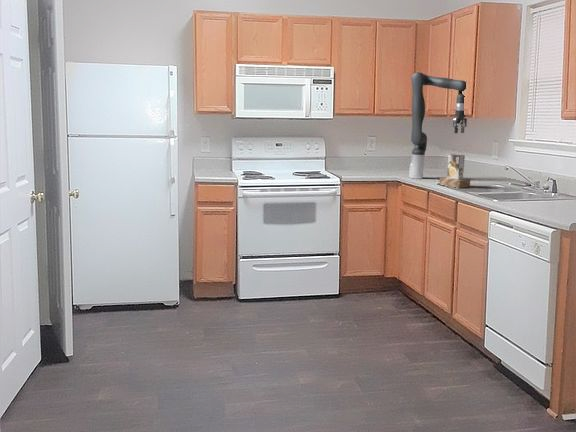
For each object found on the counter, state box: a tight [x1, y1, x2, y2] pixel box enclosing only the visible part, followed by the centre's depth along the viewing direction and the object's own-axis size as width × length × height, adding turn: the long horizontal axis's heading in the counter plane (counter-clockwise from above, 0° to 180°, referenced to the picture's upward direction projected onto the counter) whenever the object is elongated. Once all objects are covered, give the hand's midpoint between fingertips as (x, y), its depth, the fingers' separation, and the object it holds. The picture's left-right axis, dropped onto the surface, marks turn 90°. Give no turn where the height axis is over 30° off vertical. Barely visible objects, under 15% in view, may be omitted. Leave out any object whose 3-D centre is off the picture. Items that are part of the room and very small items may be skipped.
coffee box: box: [446, 153, 466, 179], centre depth 445 cm, size 9×6×16 cm
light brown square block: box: [438, 176, 471, 189], centre depth 447 cm, size 15×14×5 cm
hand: (459, 133), depth 466 cm, fingers open, 8 cm apart
